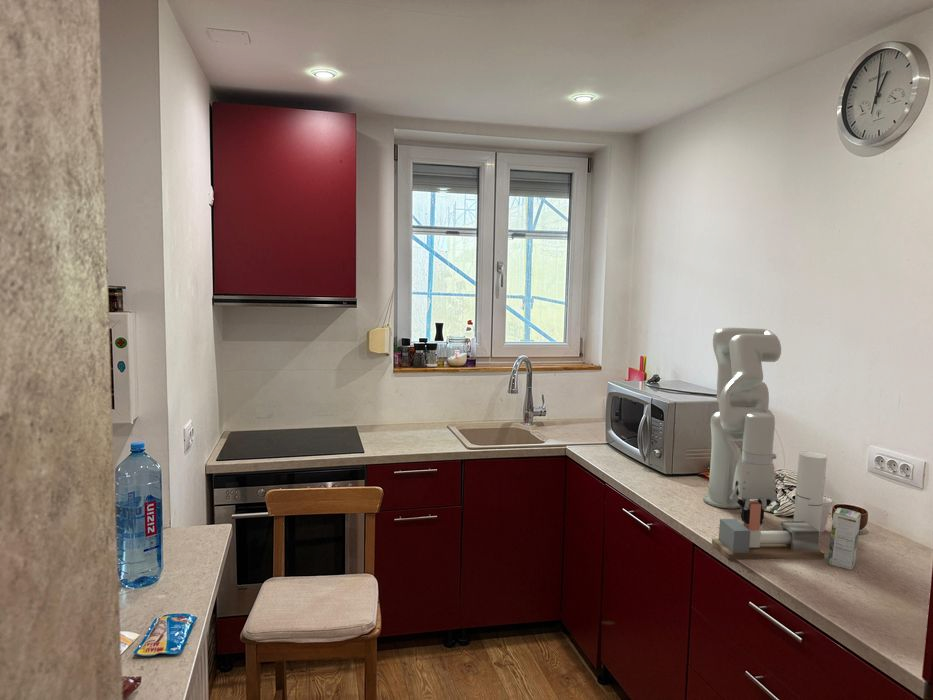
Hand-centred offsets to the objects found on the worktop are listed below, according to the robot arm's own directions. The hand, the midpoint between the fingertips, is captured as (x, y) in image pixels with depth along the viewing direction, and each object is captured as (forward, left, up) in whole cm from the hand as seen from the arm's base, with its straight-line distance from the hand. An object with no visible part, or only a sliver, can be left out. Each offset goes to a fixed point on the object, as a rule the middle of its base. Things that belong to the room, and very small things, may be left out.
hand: (751, 521), depth 174 cm
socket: (0, -5, -7) cm, 9 cm away
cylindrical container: (-10, +22, -9) cm, 26 cm away
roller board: (0, +5, -9) cm, 10 cm away
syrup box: (+8, +21, -9) cm, 25 cm away
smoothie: (-15, +29, -9) cm, 34 cm away
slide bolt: (0, +4, -7) cm, 8 cm away
